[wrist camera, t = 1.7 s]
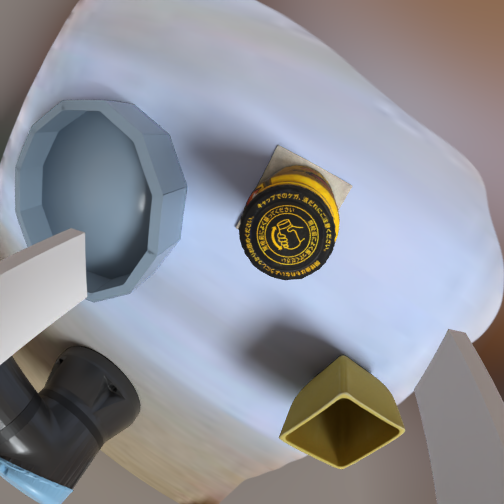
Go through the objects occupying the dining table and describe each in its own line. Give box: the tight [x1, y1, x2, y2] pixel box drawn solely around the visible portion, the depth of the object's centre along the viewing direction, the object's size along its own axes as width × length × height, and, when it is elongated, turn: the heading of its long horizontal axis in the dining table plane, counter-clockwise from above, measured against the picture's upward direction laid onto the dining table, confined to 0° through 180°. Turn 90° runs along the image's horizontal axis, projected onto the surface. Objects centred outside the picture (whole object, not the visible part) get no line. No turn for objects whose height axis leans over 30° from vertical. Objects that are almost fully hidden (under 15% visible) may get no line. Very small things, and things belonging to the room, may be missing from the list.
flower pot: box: [279, 355, 405, 469], centre depth 29 cm, size 9×9×9 cm
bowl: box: [15, 100, 187, 302], centre depth 29 cm, size 20×20×5 cm
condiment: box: [236, 145, 352, 280], centre depth 23 cm, size 7×8×12 cm
